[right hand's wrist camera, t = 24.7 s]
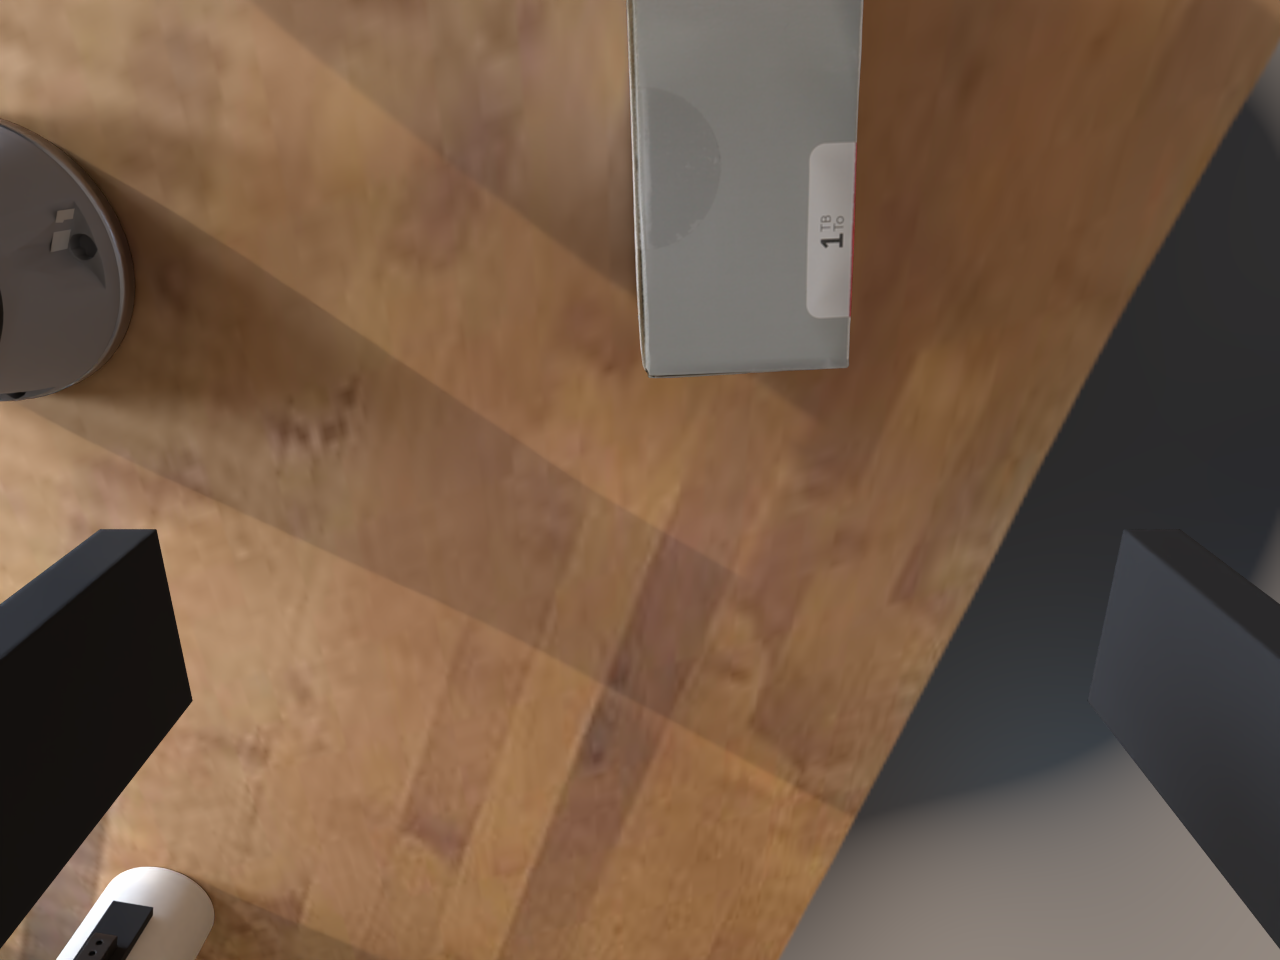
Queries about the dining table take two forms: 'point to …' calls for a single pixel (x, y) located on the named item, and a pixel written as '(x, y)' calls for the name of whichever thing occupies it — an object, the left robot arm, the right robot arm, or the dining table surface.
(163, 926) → the can
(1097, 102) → the dining table surface
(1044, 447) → the dining table surface
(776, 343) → the hard drive box
